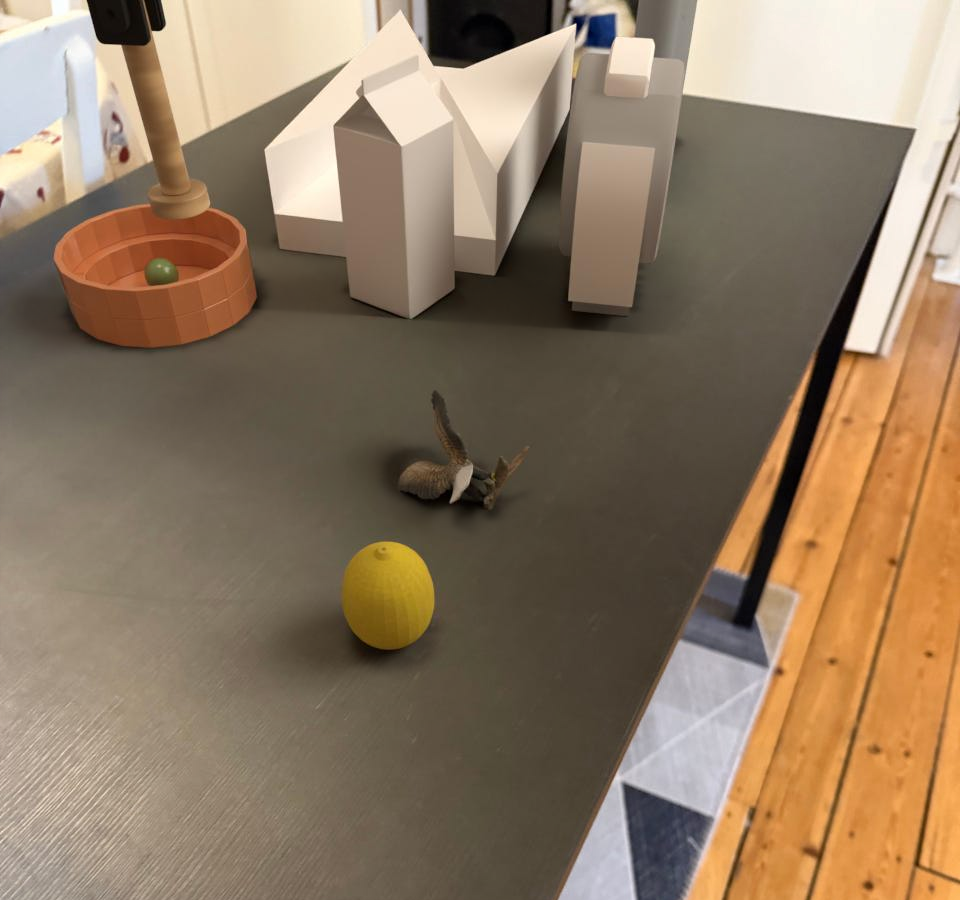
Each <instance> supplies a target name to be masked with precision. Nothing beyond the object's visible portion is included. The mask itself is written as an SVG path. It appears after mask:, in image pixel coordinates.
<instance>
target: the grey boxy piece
mask: <svg viewBox="0 0 960 900" xmlns="http://www.w3.org/2000/svg"><path fill="white" fill-rule="evenodd" d="M654 50H655V44H654V41H653V39H647V38H634V37H631V36H615V38H614V39H613V41H612V44H611V47H610V50H609V53H597V52H596V53H595V52H585V53H584V54H583V55H582V56H581V57H580V58H579V61H578V65H577V70H576V74H575V80H574V85H573V90H572V91H573V92H572V96H571V102H570V110H569V119H568V126H567V133H566V143H565V151H564V161H563V170H562V181H561V193H560V209H559V227H558V228H559V232H558V238H559V240H558V243H559V247H558V248H559V252H560V254H561V255H562V256H564V257H570V269H569V282H568V283H569V284H568V295H567V296H568V297H567V301H568V302H572V304H571V311H573V312H581V313H591V314H602V315H610V316H611V315H613V316H622V317H629V314H630V308H633V304H634V298H635V290H636V283H637V276H638V269H639V264H642V265H651V264H652V263H654V262H655V260H656V259H657V255H658V250H659V246H660V240H661V233H662V227H663V223H664V217H665V211H666V203H667V197H668V190H669V185H670V178H671V171H672V166H673V159H674V152H675V146H676V138H677V131H678V125H679V119H680V111H681V106H680V105H682V100H681V97H682V98H683V94H682V90H683V91H684V87H683V82H684V83H685V81H684V72H685V68H684V62H682V61H681V60H679V59H668V58H654Z"/></svg>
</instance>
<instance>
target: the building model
mask: <svg viewBox="0 0 960 900" xmlns="http://www.w3.org/2000/svg"><path fill="white" fill-rule="evenodd" d="M576 34H577V23H574V24H571V25H569V26H566V27H564V28H561V29H559V30H556V31H554V32H551V33H549V34H547V35H544V36H541V37H539V38H537V39H534V40H532V41H529V42H526V43H524V44H521V45H519V46H516V47H514V48H511V49H509V50H506V51H504V52H501V53H500V54H496V55H494V56H492V57H489V58H487V59H486V58H485V59H484V60H481V61H479V62H476V63H474V64H471V65H469V66H467V67H464V68H460V67H459V68H458V67H448V66H440V65H439V66H438V65H434V64H433V63H432V61H431V59H430V57H429V56H428V55H427V52H426V51H425V49H424V47H423V46H422V44H421V42H420V41H419V39H418V37H417V35H416V33H415V32H414V30H413V28H412V27H411V25H410V24H409V22H408V20H407V18H406V17H405V15H404V13H403V12H402V9H399V10H398V11H397V12H396V13H395V14H394V15H393V17H391V19H389V20H388V22H387V23H385V25H383V27H381V29H380V30H379V31H378V32H377V33H376V34H375V35H374V36H372V38H371V39H370V40H369V41H368V42H367V43H366V44H365V45H364V47H362V48H361V49H360V50H359V52H358V53H357V54H356V55H355V56H354V57H353V58H351V60H349V62H348V63H347V64H346V65H344V67H343V68H342V69H341V70H340V71H339V72H338V73H337V74H336V75H335V76H334V77H333V78H332V79H331V80H330V81H329V82H328V84H327V85H326V86H324V87H323V88H322V90H321V91H320V92H319V93H317V95H315V97H314V98H313V99H312V100H310V102H309V103H308V104H307V105H306V106H305V107H304V108H303V109H302V110H301V111H300V112H299V113H298V114H297V115H296V116H295V117H294V118H293V119H292V121H290V123H289V124H288V125H286V127H285V128H283V130H282V131H281V132H280V133H279V134H278V135H277V136H276V137H275V138H274V139H273V140H272V141H271V142H270V143H269V144H268V145H267V146H266V147H265V148H264V149H263V150H264V156H265V163H266V169H267V176H268V181H269V188H270V189H269V190H270V196H271V201H272V207H273V215H274V221H275V229H276V234H277V241H278V247H279V249H280V250H286V251H292V252H293V251H294V252H301V253H310V254H318V255H326V256H332V257H333V256H334V257H341V258H346V250H345V240H344V230H343V220H342V210H341V200H340V190H339V180H338V170H337V161H336V151H335V141H334V130H333V125H334V124H335V123H336V122H337V121H338V120H339V119H340V118H341V117H342V116H343V115H344V114H345V112H346V111H347V110H348V109H349V108H350V107H351V106H352V105H353V104H354V103H355V102H356V101H357V100H358V99H359V97H358V96H357V94H356V91H357V89H358V88H359V87H360V86H361V85H362V82H361V80H362V79H363V78H365V77H367V76H370V75H372V74H374V73H376V72H379V71H381V70H383V69H385V68H388V67H390V66H392V65H394V64H397V63H399V62H401V61H403V60H406V59H408V58H410V57H412V56H415V55H418V56H419V71H420V72H421V74H422V75H423V76H424V78H425V79H426V81H427V82H428V83H429V85H430V86H431V88H432V89H433V90H434V92H435V93H436V95H437V96H438V97H439V99H440V100H441V102H442V103H443V105H444V106H445V107H446V109H447V110H448V112H449V113H450V114H451V116H452V117H453V162H454V263H455V272H460V273H461V272H462V273H470V274H478V275H486V276H493V277H495V276H496V274H497V271H498V269H499V268H500V264H501V262H502V260H503V258H504V256H505V254H506V252H507V250H508V247H509V245H510V242H511V241H512V238H513V236H514V234H515V231H516V230H517V228H518V225H519V223H520V220H521V218H522V216H523V214H524V212H525V210H526V207H527V206H528V203H529V201H530V198H531V197H532V193H533V191H534V190H535V187H536V186H537V183H538V181H539V178H540V176H541V174H542V172H543V169H544V168H545V165H546V163H547V161H548V158H549V156H550V154H551V152H552V150H553V147H554V145H555V143H556V140H557V138H558V136H559V134H560V131H561V129H562V127H563V125H564V124H565V120H566V118H567V117H568V114H569V113H570V110H571V99H572V83H573V71H574V58H575V46H576Z"/></svg>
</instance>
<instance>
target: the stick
mask: <svg viewBox="0 0 960 900" xmlns="http://www.w3.org/2000/svg"><path fill="white" fill-rule="evenodd" d="M143 4H144V8H145V12H146V17H147V21H148V26H149V30H150V34H151V40H150V42H149V43H148V44H147V45H145V46H133V45H120V46H121V49H122V53H123V57H124V61H125V64H126V68H127V71H128V74H129V79H130V83H131V86H132V89H133V93H134V97H135V100H136V104H137V107H138V112H139V115H140V118H141V121H142V125H143V129H144V132H145V136H146V139H147V143H148V147H149V150H150V155H151V157H152V162H153V165H154V168H155V172H156V175H157V179H158V183H157V184H155V185H153V186H152V187H151V188H149V189H148V191H147V199H148V202H149V203H148V204H150V206H151V209H152V212H153V214H154V215H155V216H157V217H159V218H162V219H168V220H179V219H186V218H191V217H194V216H197V215H199V214H201V213H203V212H205V211H206V210H207V209H208V208H210V205H211V201H210V197H209V193H208V188H207V185H206V183H205V182H203V181H201V180H199V179H195V178H190V176H189V173H188V169H187V164H186V161H185V157H184V152H183V149H182V145H181V141H180V137H179V133H178V129H177V125H176V122H175V118H174V114H173V109H172V105H171V101H170V98H169V94H168V90H167V86H166V81H165V78H164V74H163V70H162V65H161V61H160V58H159V55H158V51H157V46H156V43H155V38H154V33H153V31H152V30H151V26H150V22H149V18H148V14H147V10H146V6H145V2H144V0H143Z"/></svg>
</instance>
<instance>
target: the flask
mask: <svg viewBox="0 0 960 900" xmlns="http://www.w3.org/2000/svg"><path fill="white" fill-rule="evenodd" d="M697 6H698V0H638V4H637V13H636V20H635V29H634V37H633V38H647V39H653V41H654V44H655V50H654V58H668V59H679V60H681V61H682V62H684V68H685V72H684V82H683V88H684V87H685V80H686V74H687V68H688V62H689V56H690V49H691V44H692V37H693V32H694V24H695V18H696V12H697ZM683 93H684V89H683V90H682V95H683ZM682 99H683V96H682V97H681V101H682ZM681 105H682V104H681ZM681 105H680V107H681Z"/></svg>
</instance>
